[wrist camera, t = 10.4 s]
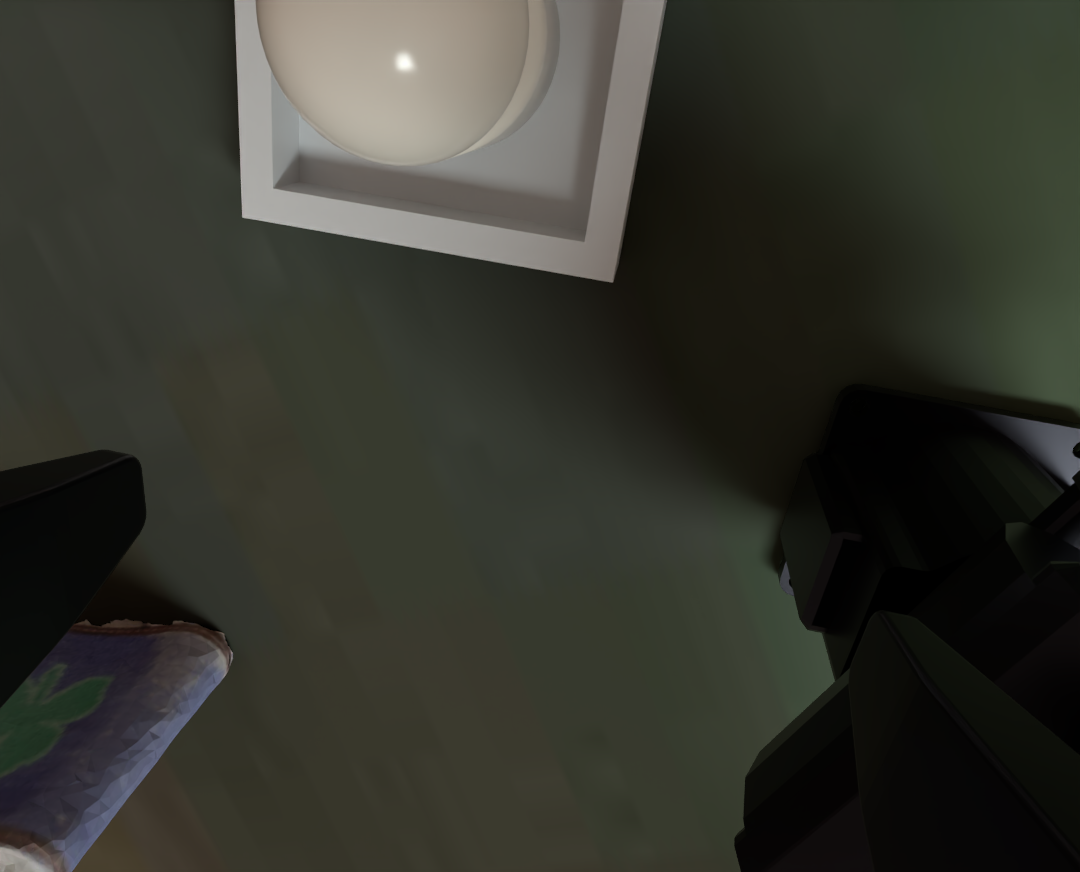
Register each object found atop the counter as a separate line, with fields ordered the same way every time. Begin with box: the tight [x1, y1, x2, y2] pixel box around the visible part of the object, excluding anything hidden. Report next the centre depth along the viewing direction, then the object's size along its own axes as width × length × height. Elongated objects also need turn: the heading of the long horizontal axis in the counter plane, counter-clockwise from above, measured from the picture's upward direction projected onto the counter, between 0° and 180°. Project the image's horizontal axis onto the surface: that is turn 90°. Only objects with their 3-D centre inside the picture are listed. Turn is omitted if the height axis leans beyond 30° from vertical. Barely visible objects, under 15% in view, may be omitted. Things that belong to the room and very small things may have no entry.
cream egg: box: [256, 0, 560, 166], centre depth 14 cm, size 5×5×6 cm
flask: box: [0, 619, 233, 872], centre depth 23 cm, size 9×3×11 cm, turn 95°
